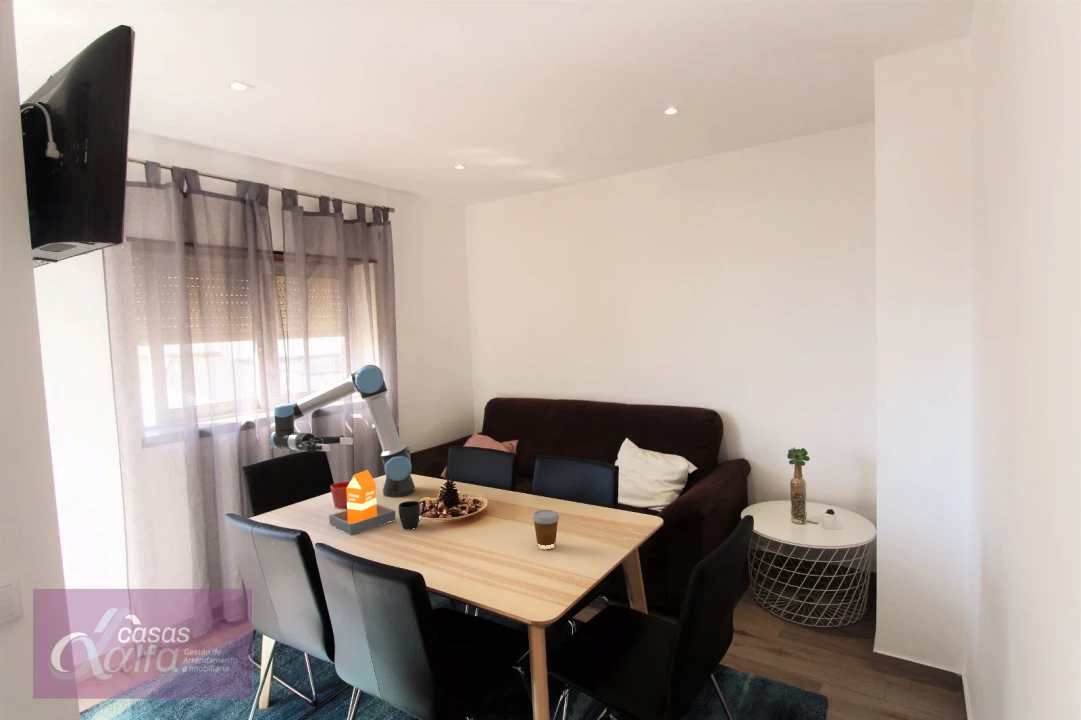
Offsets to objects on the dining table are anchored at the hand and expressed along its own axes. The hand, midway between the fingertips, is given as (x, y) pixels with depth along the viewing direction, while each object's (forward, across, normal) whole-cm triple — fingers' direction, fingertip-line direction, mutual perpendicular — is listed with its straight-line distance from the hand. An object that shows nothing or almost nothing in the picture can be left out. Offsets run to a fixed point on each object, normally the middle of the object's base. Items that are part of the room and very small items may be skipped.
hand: (341, 444), depth 218 cm
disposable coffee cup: (+90, -1, -32) cm, 96 cm away
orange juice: (+10, 0, -31) cm, 33 cm away
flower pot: (-13, -15, -32) cm, 38 cm away
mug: (+32, -3, -32) cm, 46 cm away
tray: (+10, 0, -32) cm, 33 cm away
